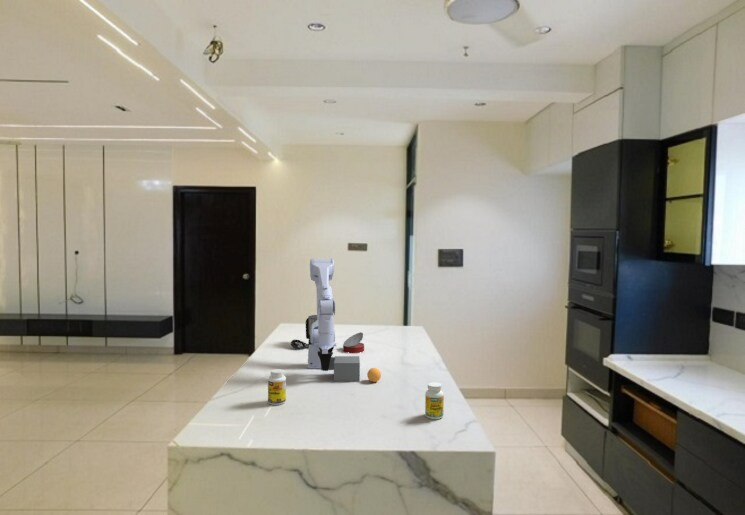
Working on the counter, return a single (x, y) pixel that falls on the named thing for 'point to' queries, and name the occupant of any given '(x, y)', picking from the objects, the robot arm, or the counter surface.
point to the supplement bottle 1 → (276, 387)
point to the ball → (374, 374)
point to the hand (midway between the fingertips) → (325, 368)
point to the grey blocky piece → (345, 368)
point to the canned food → (354, 344)
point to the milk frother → (308, 327)
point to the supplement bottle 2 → (434, 401)
